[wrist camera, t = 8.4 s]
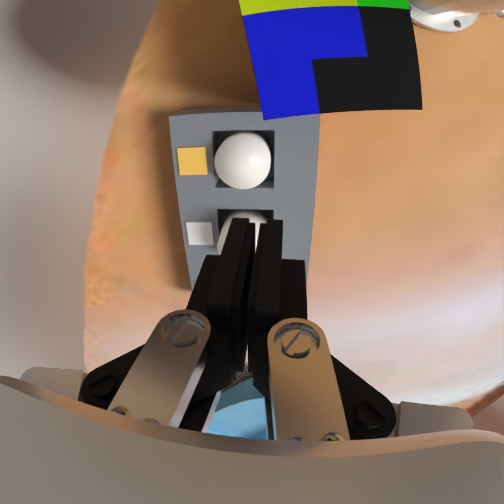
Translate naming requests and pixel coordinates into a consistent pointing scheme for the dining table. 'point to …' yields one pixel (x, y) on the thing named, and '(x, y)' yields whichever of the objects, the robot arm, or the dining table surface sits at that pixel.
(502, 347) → the dining table surface
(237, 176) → the button
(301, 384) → the robot arm
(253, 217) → the middle button
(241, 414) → the casserole dish
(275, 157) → the button board
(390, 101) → the puzzle toy
